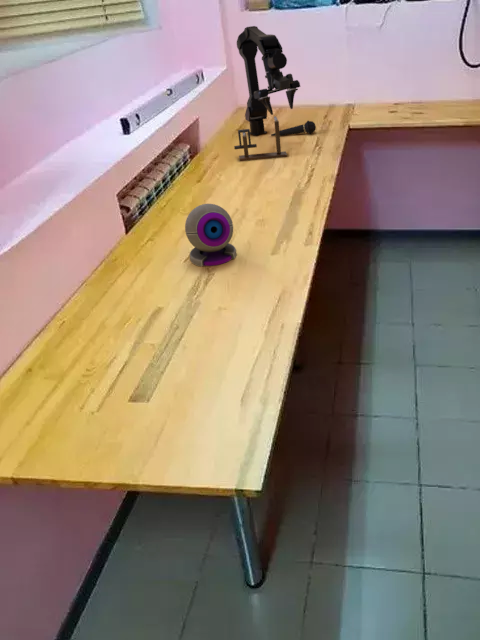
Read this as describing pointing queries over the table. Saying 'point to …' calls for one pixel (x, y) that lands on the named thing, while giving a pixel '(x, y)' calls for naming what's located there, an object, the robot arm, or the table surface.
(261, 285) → the table surface
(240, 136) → the black piece
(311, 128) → the microphone
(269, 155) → the rack
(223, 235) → the webcam
